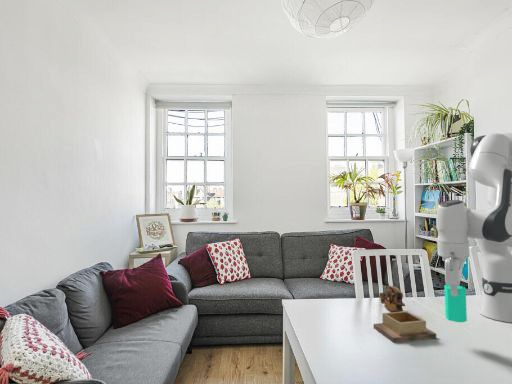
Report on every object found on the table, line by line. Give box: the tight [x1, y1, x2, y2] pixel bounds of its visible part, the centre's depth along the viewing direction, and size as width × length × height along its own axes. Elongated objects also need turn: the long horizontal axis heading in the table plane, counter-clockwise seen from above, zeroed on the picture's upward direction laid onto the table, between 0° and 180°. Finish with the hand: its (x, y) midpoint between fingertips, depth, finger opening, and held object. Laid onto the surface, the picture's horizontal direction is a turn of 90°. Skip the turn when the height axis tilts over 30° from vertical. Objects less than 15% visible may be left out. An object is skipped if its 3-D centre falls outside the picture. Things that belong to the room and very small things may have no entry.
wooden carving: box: [379, 285, 406, 312], centre depth 135 cm, size 16×5×10 cm, turn 11°
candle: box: [443, 284, 468, 323], centre depth 104 cm, size 6×6×12 cm
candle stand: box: [373, 310, 437, 344], centre depth 112 cm, size 16×12×6 cm
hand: (455, 293), depth 104 cm, fingers closed on candle, 5 cm apart
